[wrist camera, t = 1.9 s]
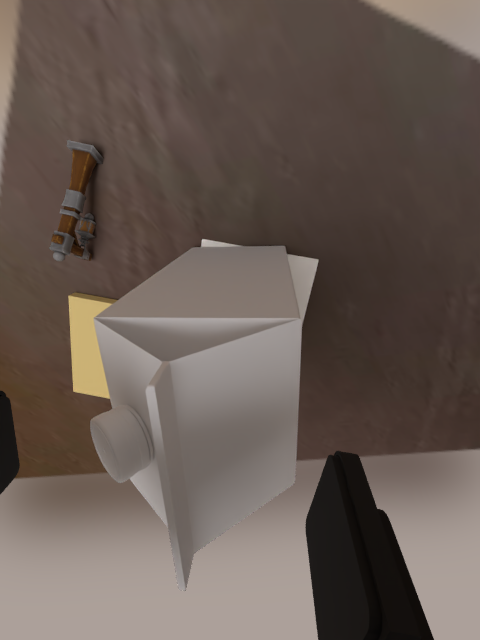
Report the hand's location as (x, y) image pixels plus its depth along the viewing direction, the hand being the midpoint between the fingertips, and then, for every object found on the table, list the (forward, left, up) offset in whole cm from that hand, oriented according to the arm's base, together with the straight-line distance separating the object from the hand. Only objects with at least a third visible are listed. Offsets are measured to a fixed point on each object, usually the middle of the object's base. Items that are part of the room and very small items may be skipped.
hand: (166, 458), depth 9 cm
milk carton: (-1, 0, -18) cm, 18 cm away
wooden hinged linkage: (+12, -4, -18) cm, 22 cm away
